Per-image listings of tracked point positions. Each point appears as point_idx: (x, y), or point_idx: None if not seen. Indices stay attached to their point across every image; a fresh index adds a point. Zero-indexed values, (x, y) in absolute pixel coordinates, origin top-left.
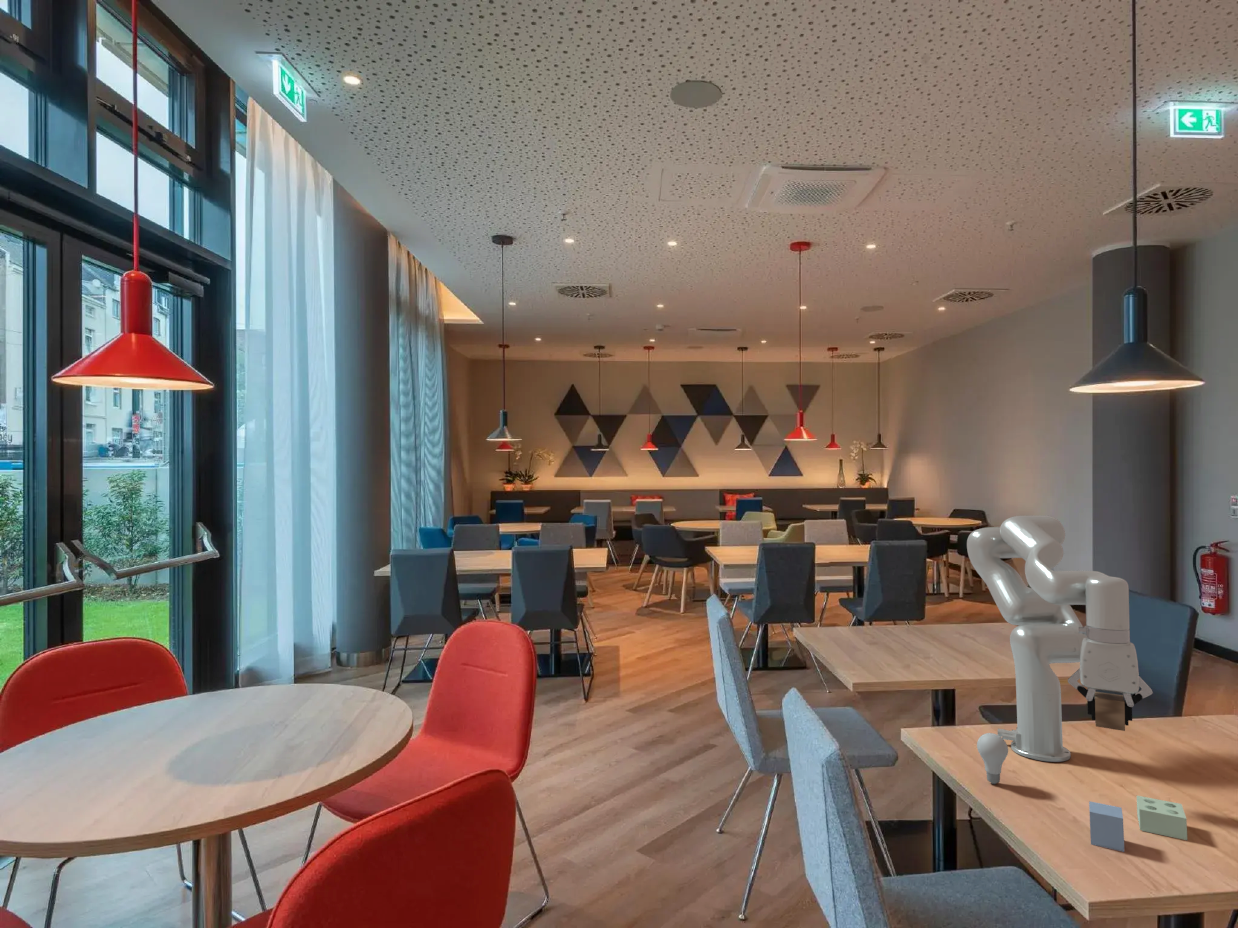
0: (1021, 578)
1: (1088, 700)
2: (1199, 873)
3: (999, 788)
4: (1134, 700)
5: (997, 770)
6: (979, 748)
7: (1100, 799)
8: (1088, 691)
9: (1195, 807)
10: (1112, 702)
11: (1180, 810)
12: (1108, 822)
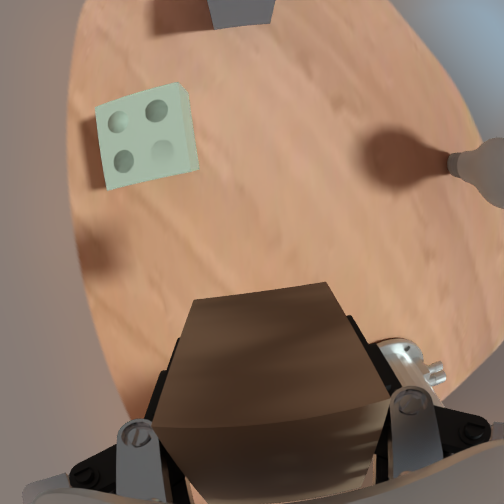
0: None
1: (408, 386)
2: (108, 8)
3: (440, 145)
4: (115, 460)
5: (465, 153)
6: None
7: (275, 211)
8: (436, 437)
9: (124, 292)
10: (246, 409)
11: (105, 145)
12: None
